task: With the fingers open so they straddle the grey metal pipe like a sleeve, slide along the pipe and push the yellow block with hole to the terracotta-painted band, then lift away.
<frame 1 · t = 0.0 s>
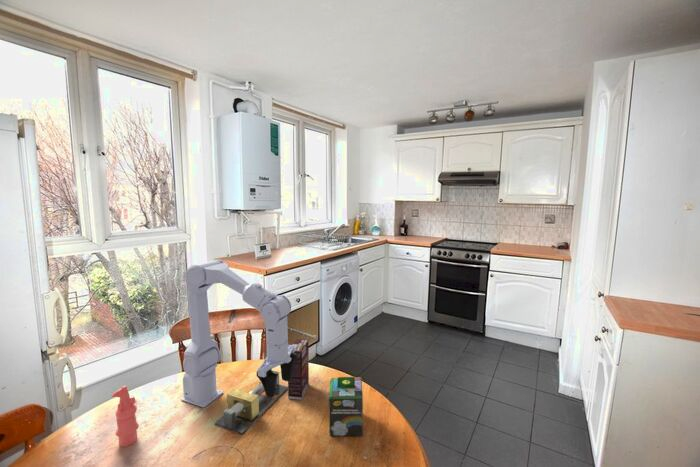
hand: (278, 387, 88), 10 cm above the table, fingers open, 7 cm apart
chalk box: (346, 425, 88), on the table
yellow block with hole: (242, 403, 91), point 4 cm above the table, slide at -5.0 cm
supplement box: (299, 391, 103), on the table
figurine: (128, 441, 82), on the table
pipe stand: (254, 404, 96), on the table
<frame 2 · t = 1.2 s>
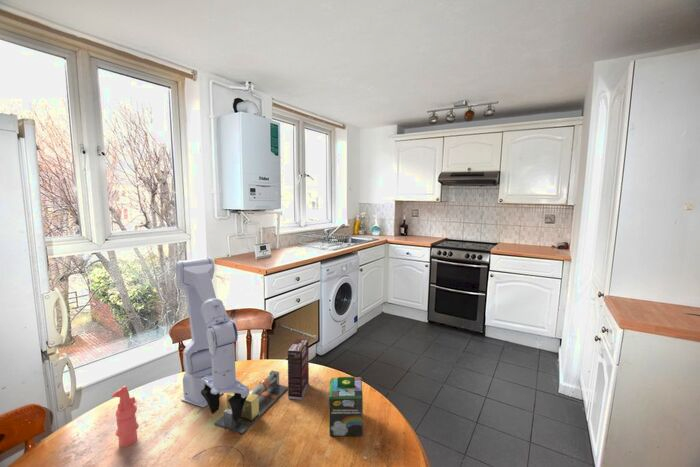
hand: (226, 415, 85), 5 cm above the table, fingers open, 7 cm apart
nothing on the table moved.
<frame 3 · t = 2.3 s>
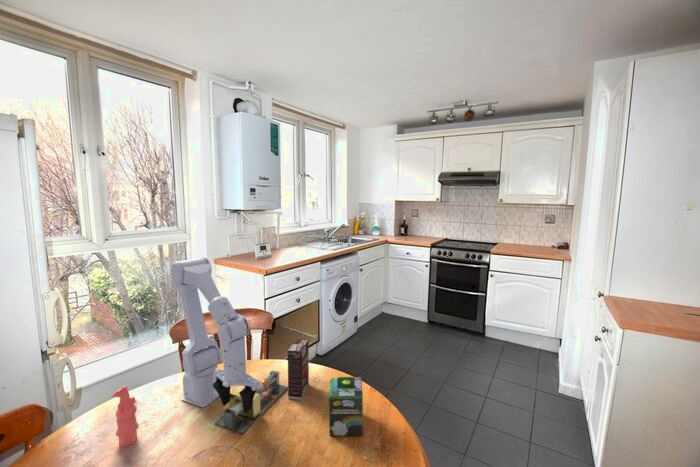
hand: (236, 407, 89), 4 cm above the table, fingers open, 7 cm apart
yellow block with hole: (244, 402, 92), point 4 cm above the table, slide at -4.3 cm, touching gripper
everything else where it was.
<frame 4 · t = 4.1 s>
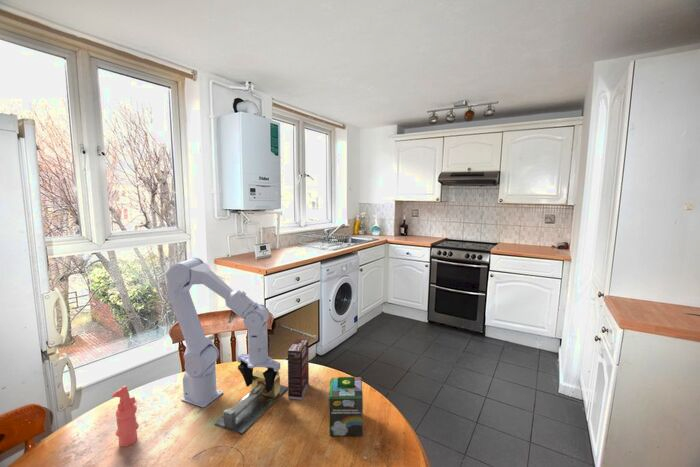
hand: (259, 387, 98), 4 cm above the table
yellow block with hole: (265, 383, 101), point 4 cm above the table, slide at 5.6 cm, touching gripper
everything else where it was.
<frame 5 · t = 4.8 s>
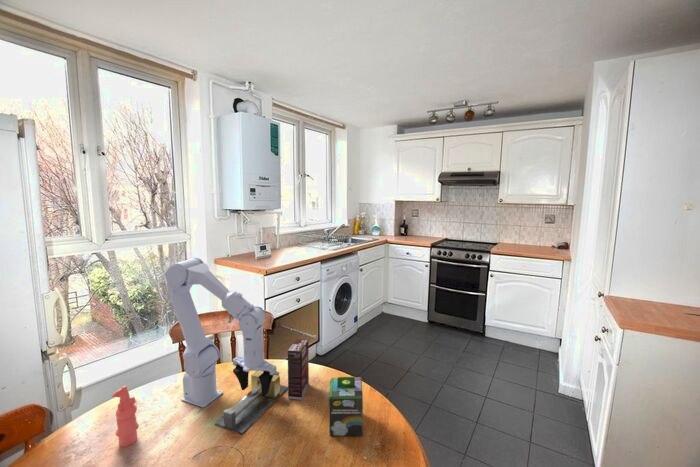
hand: (255, 391, 96), 4 cm above the table, fingers open, 7 cm apart
yellow block with hole: (265, 383, 101), point 4 cm above the table, slide at 5.6 cm
everything else where it was.
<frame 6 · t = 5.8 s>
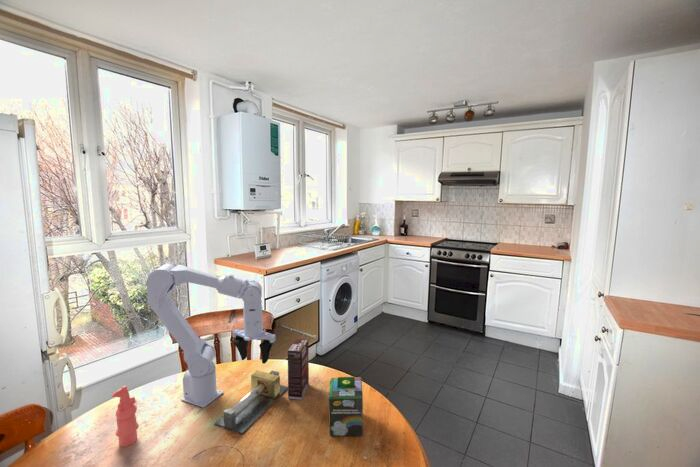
hand: (254, 360, 102), 10 cm above the table, fingers open, 7 cm apart
nothing on the table moved.
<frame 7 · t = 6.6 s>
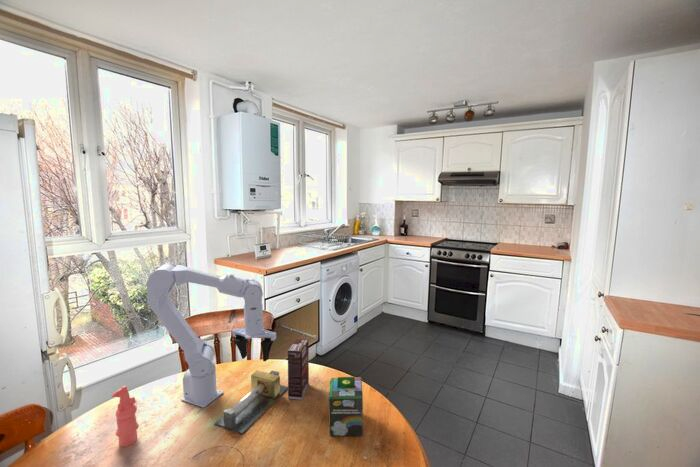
hand: (255, 358, 103), 10 cm above the table, fingers open, 7 cm apart
nothing on the table moved.
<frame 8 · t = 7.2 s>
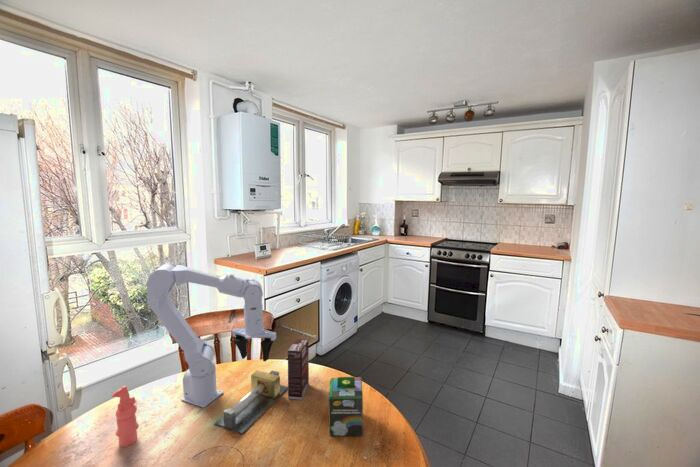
hand: (255, 358, 103), 10 cm above the table, fingers open, 7 cm apart
nothing on the table moved.
at the end: yellow block with hole slide at 5.6 cm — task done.
